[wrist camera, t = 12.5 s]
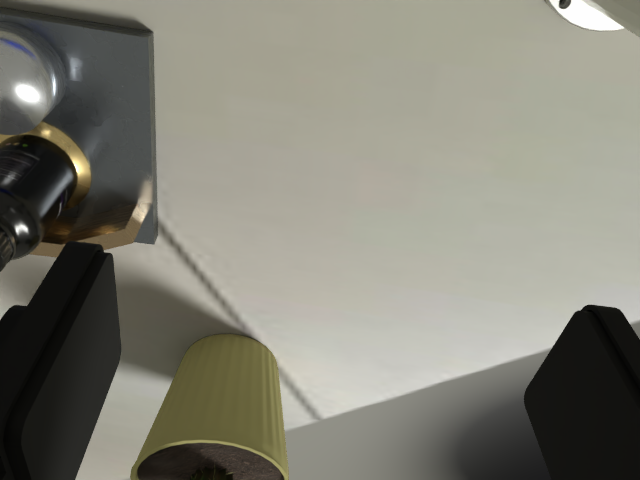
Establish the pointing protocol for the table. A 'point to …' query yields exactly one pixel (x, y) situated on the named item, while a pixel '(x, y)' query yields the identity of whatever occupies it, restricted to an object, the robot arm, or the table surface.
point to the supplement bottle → (31, 192)
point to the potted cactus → (219, 417)
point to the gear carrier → (86, 120)
